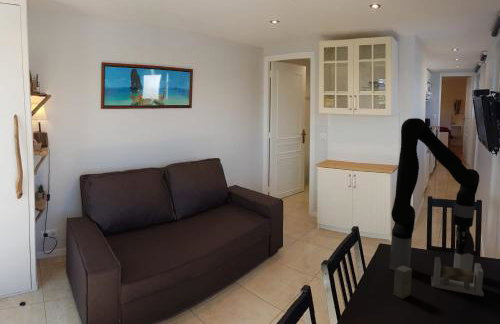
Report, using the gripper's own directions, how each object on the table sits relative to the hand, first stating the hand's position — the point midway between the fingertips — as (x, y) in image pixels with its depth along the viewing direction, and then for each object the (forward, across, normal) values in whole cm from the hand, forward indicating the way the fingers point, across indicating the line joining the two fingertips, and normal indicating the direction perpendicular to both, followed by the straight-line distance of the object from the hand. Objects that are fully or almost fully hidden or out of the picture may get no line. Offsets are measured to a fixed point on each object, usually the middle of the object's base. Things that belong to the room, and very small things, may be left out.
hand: (459, 249), depth 159 cm
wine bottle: (+18, -16, +4) cm, 24 cm away
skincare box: (+18, +18, -22) cm, 34 cm away
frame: (+18, 0, 0) cm, 18 cm away
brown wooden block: (+14, 0, 0) cm, 14 cm away
